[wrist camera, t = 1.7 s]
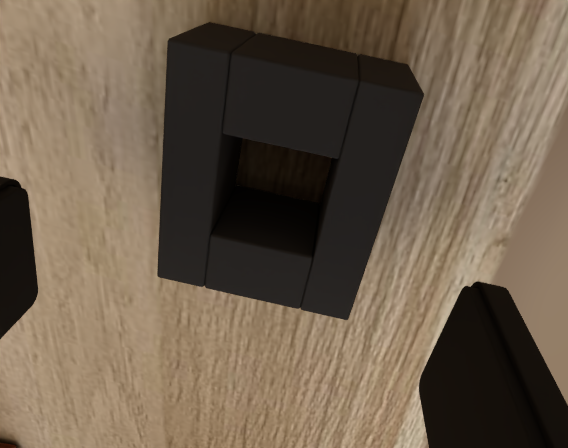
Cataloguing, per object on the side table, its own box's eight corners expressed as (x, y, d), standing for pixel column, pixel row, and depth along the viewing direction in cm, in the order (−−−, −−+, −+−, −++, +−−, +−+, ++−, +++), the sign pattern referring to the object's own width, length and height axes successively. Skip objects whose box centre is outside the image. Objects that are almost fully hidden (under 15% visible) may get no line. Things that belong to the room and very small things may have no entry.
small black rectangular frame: (190, 223, 17) (156, 277, 14) (206, 21, 13) (166, 37, 10) (348, 258, 17) (347, 321, 14) (408, 64, 13) (425, 93, 10)
